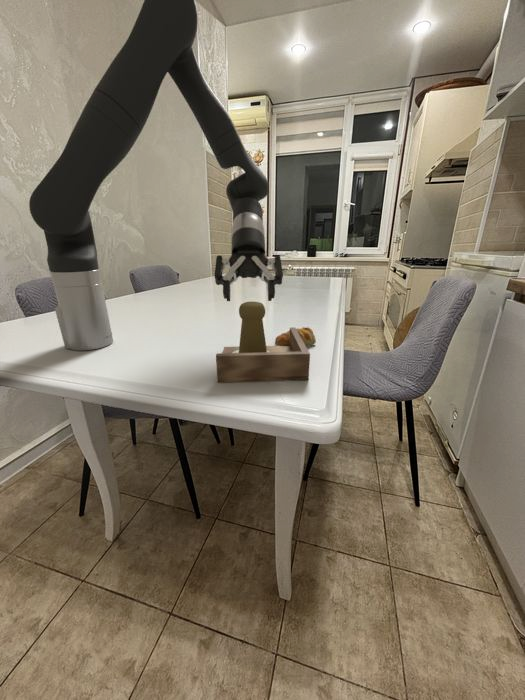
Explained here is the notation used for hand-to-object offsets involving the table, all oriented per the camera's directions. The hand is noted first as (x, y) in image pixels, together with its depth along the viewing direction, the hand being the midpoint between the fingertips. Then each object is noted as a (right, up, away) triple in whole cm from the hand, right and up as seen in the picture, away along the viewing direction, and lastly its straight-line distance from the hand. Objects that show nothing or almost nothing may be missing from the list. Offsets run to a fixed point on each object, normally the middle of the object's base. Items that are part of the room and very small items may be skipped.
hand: (249, 299), depth 59 cm
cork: (+1, -12, +1) cm, 12 cm away
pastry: (+11, -9, +10) cm, 18 cm away
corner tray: (+2, -13, -1) cm, 13 cm away
